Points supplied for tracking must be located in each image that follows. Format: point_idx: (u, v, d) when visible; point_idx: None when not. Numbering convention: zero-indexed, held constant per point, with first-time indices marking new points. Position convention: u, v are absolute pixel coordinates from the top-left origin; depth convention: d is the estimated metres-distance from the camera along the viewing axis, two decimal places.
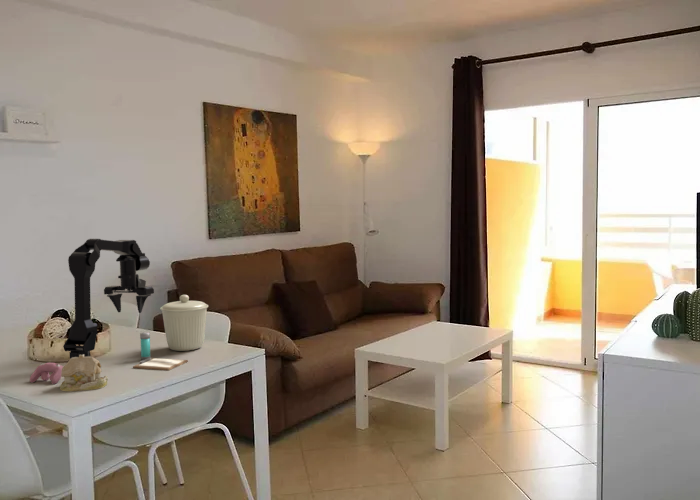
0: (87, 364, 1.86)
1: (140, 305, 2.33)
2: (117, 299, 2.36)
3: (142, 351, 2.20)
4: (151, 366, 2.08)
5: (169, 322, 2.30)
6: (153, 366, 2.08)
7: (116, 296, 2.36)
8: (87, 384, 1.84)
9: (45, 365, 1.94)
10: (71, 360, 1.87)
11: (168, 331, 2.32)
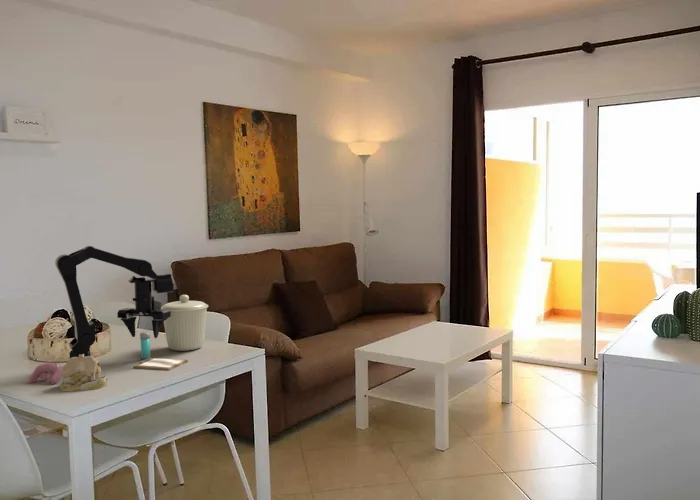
0: (87, 364, 1.87)
1: (156, 330, 2.18)
2: (131, 322, 2.21)
3: (142, 351, 2.20)
4: (151, 366, 2.08)
5: (169, 322, 2.30)
6: (153, 366, 2.08)
7: (130, 320, 2.21)
8: (87, 384, 1.84)
9: (44, 365, 1.94)
10: (71, 360, 1.87)
11: (168, 331, 2.32)
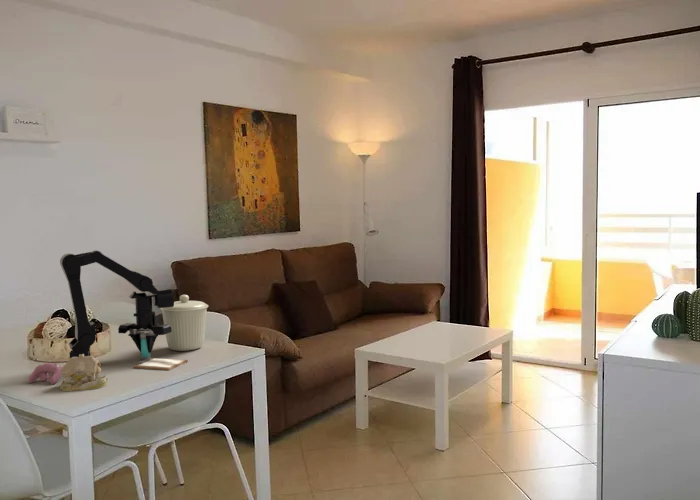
0: (88, 364, 1.87)
1: (150, 345, 2.19)
2: (138, 338, 2.21)
3: (142, 351, 2.20)
4: (151, 366, 2.08)
5: (169, 322, 2.30)
6: (153, 366, 2.08)
7: (138, 335, 2.20)
8: (87, 384, 1.85)
9: (44, 365, 1.94)
10: (71, 360, 1.87)
11: None
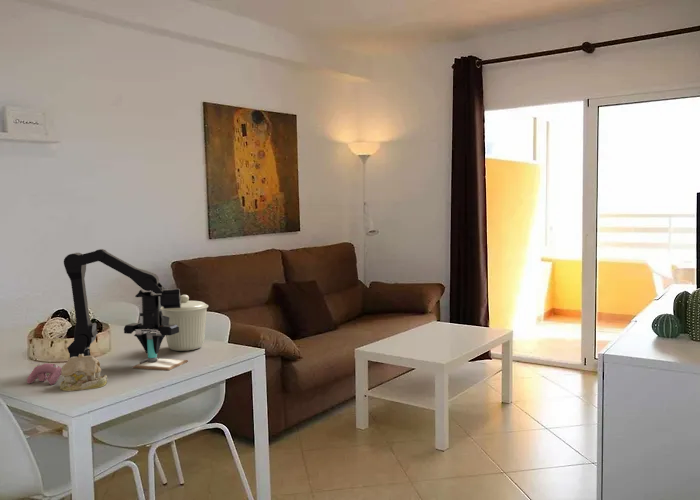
0: (88, 364, 1.87)
1: (157, 345, 2.12)
2: (145, 338, 2.13)
3: (149, 352, 2.12)
4: (151, 366, 2.08)
5: (169, 322, 2.30)
6: (153, 366, 2.08)
7: (144, 335, 2.13)
8: (88, 383, 1.85)
9: (42, 366, 1.93)
10: (71, 360, 1.87)
11: None
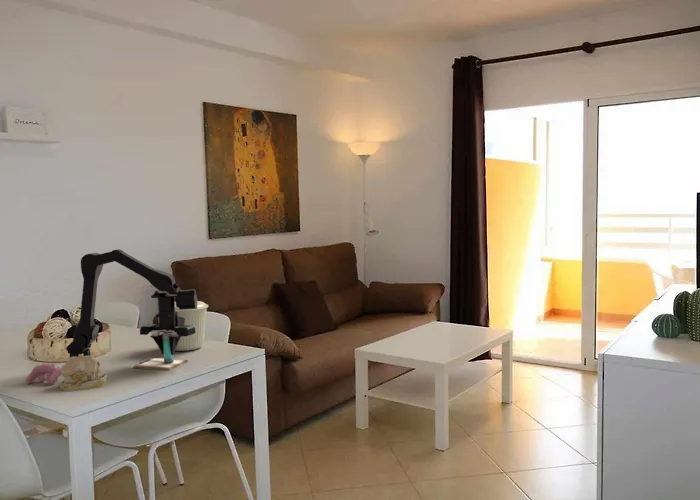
0: (87, 364, 1.88)
1: (173, 346, 2.10)
2: (161, 339, 2.12)
3: (165, 353, 2.11)
4: (151, 366, 2.08)
5: None
6: (153, 366, 2.08)
7: (160, 337, 2.12)
8: (88, 383, 1.85)
9: (42, 366, 1.93)
10: (70, 360, 1.87)
11: None
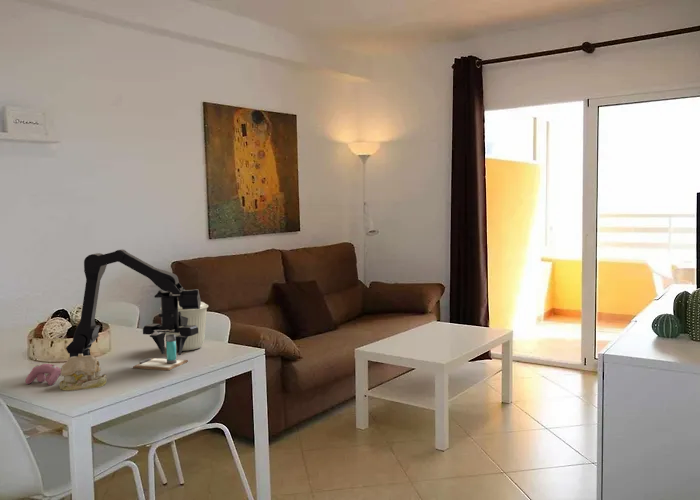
0: (87, 363, 1.88)
1: (180, 346, 2.10)
2: (160, 339, 2.12)
3: (168, 354, 2.10)
4: (151, 366, 2.08)
5: None
6: (153, 366, 2.08)
7: (160, 336, 2.12)
8: (88, 383, 1.86)
9: (41, 366, 1.92)
10: (70, 359, 1.87)
11: None
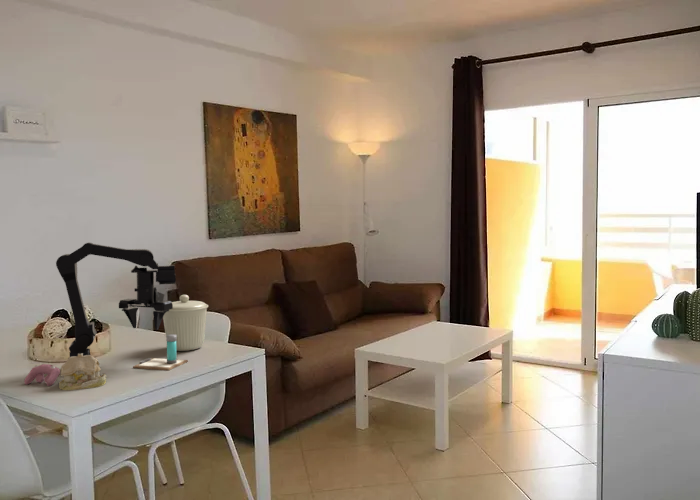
0: (87, 363, 1.88)
1: (157, 321, 2.13)
2: (132, 313, 2.16)
3: (168, 354, 2.10)
4: (151, 366, 2.08)
5: (169, 322, 2.30)
6: (153, 366, 2.08)
7: (132, 310, 2.16)
8: (88, 382, 1.86)
9: (40, 367, 1.92)
10: (70, 359, 1.88)
11: (168, 331, 2.32)
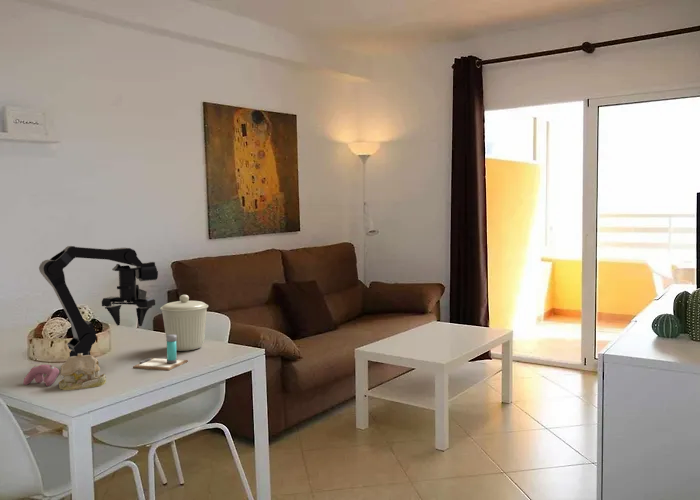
0: (87, 363, 1.88)
1: (140, 318, 2.17)
2: (115, 311, 2.20)
3: (168, 354, 2.10)
4: (151, 366, 2.08)
5: (169, 322, 2.30)
6: (153, 366, 2.08)
7: (115, 308, 2.20)
8: (88, 382, 1.86)
9: (39, 367, 1.92)
10: (70, 359, 1.88)
11: (168, 331, 2.32)
